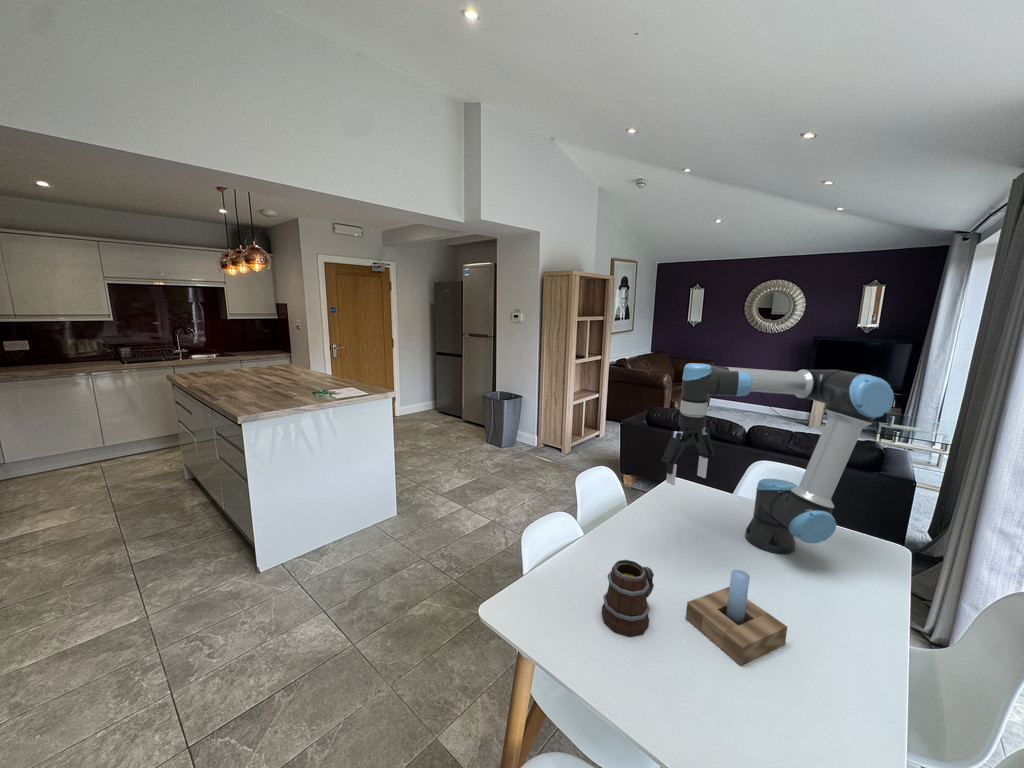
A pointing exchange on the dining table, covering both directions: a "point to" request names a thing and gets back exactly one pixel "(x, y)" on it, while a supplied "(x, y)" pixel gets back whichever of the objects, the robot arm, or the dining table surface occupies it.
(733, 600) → the peg
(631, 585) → the mug
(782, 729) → the dining table surface
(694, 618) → the socket block
